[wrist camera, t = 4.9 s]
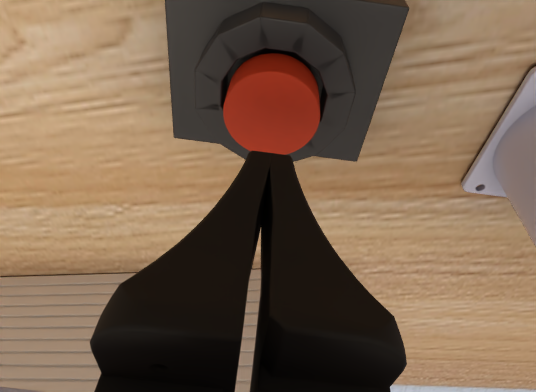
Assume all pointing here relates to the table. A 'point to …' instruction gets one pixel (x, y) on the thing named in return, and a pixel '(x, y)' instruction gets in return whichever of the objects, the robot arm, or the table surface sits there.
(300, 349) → the robot arm
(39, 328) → the long wooden block
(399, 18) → the button block
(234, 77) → the button
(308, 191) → the table surface
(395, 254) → the table surface
